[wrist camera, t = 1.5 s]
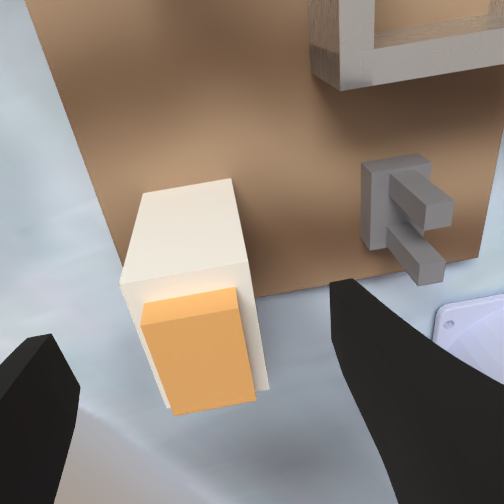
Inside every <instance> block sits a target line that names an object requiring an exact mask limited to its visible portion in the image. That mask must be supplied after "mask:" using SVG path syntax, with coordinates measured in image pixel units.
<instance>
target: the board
mask: <svg viewBox="0 0 504 504" xmlns="http://www.w3.org/2000/svg"><path fill="white" fill-rule="evenodd" d="M25 3H26V5H27V8H28V11H29V13H30V16H31V19H32V22H33V24H34V27H35V30H36V32H37V35H38V38H39V41H40V43H41V46H42V49H43V51H44V54H45V57H46V60H47V62H48V65H49V68H50V70H51V73H52V76H53V79H54V81H55V84H56V87H57V90H58V92H59V95H60V98H61V100H62V103H63V106H64V109H65V111H66V114H67V117H68V119H69V122H70V125H71V128H72V130H73V133H74V136H75V138H76V141H77V144H78V147H79V149H80V152H81V155H82V157H83V160H84V163H85V166H86V168H87V171H88V174H89V176H90V179H91V182H92V185H93V187H94V190H95V193H96V195H97V198H98V201H99V204H100V206H101V209H102V212H103V214H104V217H105V220H106V223H107V225H108V228H109V231H110V233H111V236H112V239H113V242H114V244H115V247H116V250H117V252H118V255H119V258H120V261H121V263H122V266H123V267H124V263H125V259H126V255H127V252H128V248H129V244H130V240H131V237H132V233H133V229H134V225H135V222H136V218H137V214H138V210H139V207H140V203H141V199H142V195H143V193H147V192H153V191H159V190H165V189H171V188H176V187H182V186H188V185H194V184H200V183H206V182H211V181H217V180H223V179H229V178H231V180H232V185H233V190H234V194H235V199H236V204H237V209H238V214H239V219H240V224H241V229H242V234H243V238H244V243H245V248H246V253H247V258H248V263H249V269H250V275H251V281H252V287H253V293H254V298H257V297H263V296H268V295H274V294H279V293H285V292H290V291H296V290H301V289H307V288H313V287H318V286H324V285H329V282H334V281H340V280H345V279H350V278H353V279H354V280H357V279H362V278H368V277H373V276H379V275H384V274H390V273H395V272H401V271H405V269H404V268H403V267H402V265H401V264H400V263H399V262H398V260H397V259H396V258H395V256H394V255H393V254H392V253H391V251H390V250H389V249H388V248H382V249H376V250H371V251H370V250H369V249H368V247H367V246H366V245H365V243H364V242H363V240H362V239H361V237H360V222H361V163H362V162H368V161H374V160H380V159H386V158H391V157H397V156H403V155H409V154H415V153H418V154H420V155H421V156H423V157H424V158H426V159H427V160H429V161H430V162H431V163H432V165H431V174H430V182H431V183H433V184H434V185H435V186H437V187H438V188H439V189H440V190H442V191H443V192H444V193H446V194H447V195H448V196H449V197H451V198H452V199H453V200H455V202H454V209H453V216H452V223H451V226H448V227H442V228H437V229H431V230H425V231H424V238H425V239H426V240H427V241H428V243H429V244H430V245H431V246H432V247H433V248H434V249H435V250H436V251H437V252H438V253H439V254H440V255H441V256H442V257H443V258H444V259H445V260H446V263H450V262H456V261H462V260H467V259H473V258H478V255H479V250H480V245H481V240H482V235H483V230H484V225H485V219H486V214H487V209H488V204H489V199H490V194H491V189H492V184H493V179H494V174H495V168H496V163H497V158H498V153H499V148H500V143H501V138H502V133H503V128H504V64H500V65H494V66H488V67H482V68H476V69H470V70H464V71H458V72H452V73H446V74H440V75H434V76H428V77H422V78H416V79H410V80H404V81H398V82H392V83H386V84H380V85H374V86H368V87H362V88H356V89H350V90H344V91H339V90H338V89H336V88H335V87H333V86H331V85H330V84H328V83H327V82H325V81H323V80H322V79H320V78H319V77H317V76H315V75H314V74H312V73H311V72H310V54H309V34H308V15H307V0H25ZM489 4H490V0H375V18H374V32H380V31H386V30H392V29H398V28H405V27H411V26H417V25H423V24H429V23H435V22H441V21H447V20H454V19H460V18H466V17H472V16H478V15H484V14H488V10H489Z"/></svg>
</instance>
